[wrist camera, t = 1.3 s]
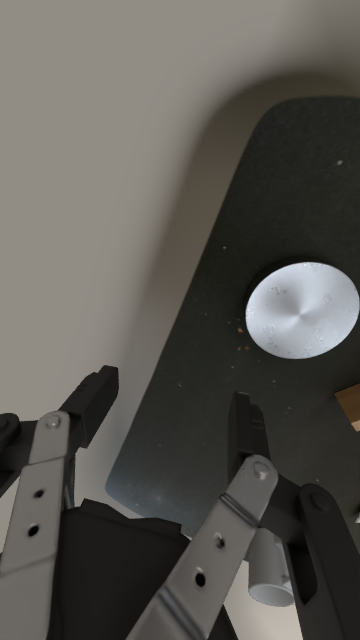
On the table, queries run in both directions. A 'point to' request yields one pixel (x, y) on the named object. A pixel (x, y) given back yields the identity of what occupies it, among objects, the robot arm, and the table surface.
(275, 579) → the cup
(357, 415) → the corner fence
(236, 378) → the table surface
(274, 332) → the white-topped round disc
